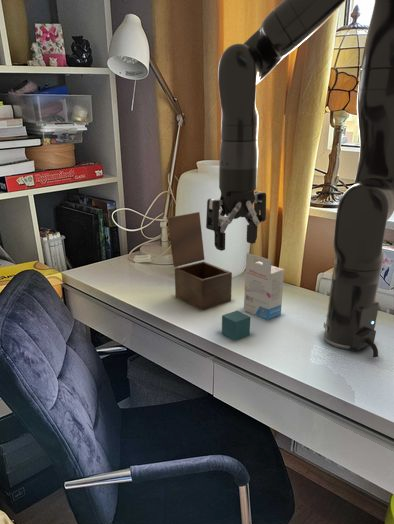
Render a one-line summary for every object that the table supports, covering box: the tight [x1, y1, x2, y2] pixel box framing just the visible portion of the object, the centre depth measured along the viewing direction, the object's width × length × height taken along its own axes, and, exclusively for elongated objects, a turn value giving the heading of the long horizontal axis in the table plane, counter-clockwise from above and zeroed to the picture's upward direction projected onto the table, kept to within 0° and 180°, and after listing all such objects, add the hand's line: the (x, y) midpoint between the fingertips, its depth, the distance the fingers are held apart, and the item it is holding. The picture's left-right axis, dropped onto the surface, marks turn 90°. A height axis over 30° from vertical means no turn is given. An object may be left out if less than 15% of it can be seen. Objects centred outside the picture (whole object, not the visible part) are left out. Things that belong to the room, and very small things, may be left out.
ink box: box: [243, 252, 285, 321], centre depth 114 cm, size 8×5×15 cm, turn 39°
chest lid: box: [167, 211, 205, 268], centre depth 124 cm, size 12×10×1 cm
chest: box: [174, 260, 233, 311], centre depth 124 cm, size 12×10×8 cm
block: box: [221, 310, 252, 341], centre depth 106 cm, size 4×4×4 cm
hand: (236, 246), depth 101 cm, fingers open, 8 cm apart
